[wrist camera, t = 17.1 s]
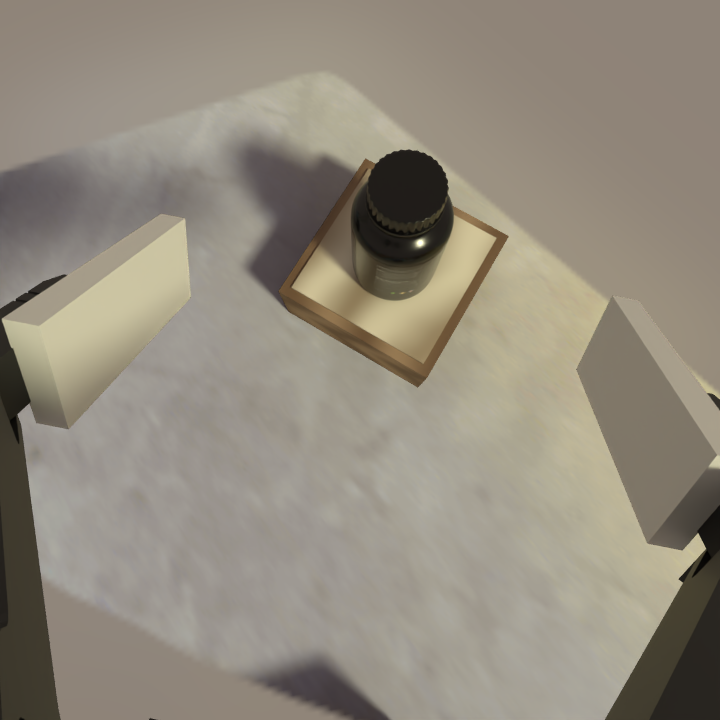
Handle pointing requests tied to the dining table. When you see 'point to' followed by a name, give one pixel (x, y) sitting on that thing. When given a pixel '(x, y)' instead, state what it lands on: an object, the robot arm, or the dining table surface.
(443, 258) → the walnut riser block
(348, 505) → the dining table surface
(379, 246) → the supplement bottle
